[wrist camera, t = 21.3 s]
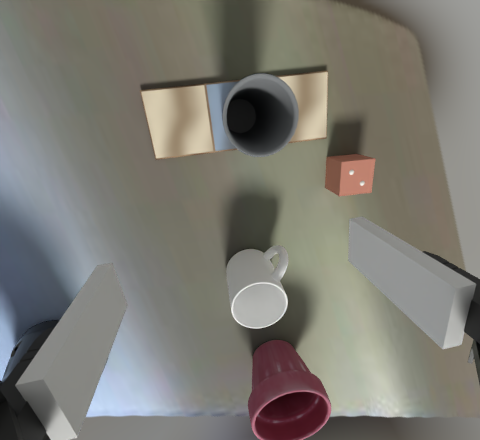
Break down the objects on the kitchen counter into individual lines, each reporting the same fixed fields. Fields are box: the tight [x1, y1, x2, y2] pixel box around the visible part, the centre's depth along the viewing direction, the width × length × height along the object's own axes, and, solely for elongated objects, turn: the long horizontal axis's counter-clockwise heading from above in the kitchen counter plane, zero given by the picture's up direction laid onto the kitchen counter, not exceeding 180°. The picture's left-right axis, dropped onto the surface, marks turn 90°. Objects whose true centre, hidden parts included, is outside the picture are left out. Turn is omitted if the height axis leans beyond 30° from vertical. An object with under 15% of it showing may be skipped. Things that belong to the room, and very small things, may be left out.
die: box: [325, 154, 375, 196], centre depth 40 cm, size 5×5×5 cm
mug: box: [226, 245, 288, 328], centre depth 42 cm, size 12×8×10 cm
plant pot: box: [248, 340, 331, 440], centre depth 50 cm, size 14×14×13 cm
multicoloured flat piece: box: [140, 71, 328, 160], centre depth 37 cm, size 26×9×1 cm, turn 96°
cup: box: [222, 73, 299, 157], centre depth 30 cm, size 7×7×15 cm
